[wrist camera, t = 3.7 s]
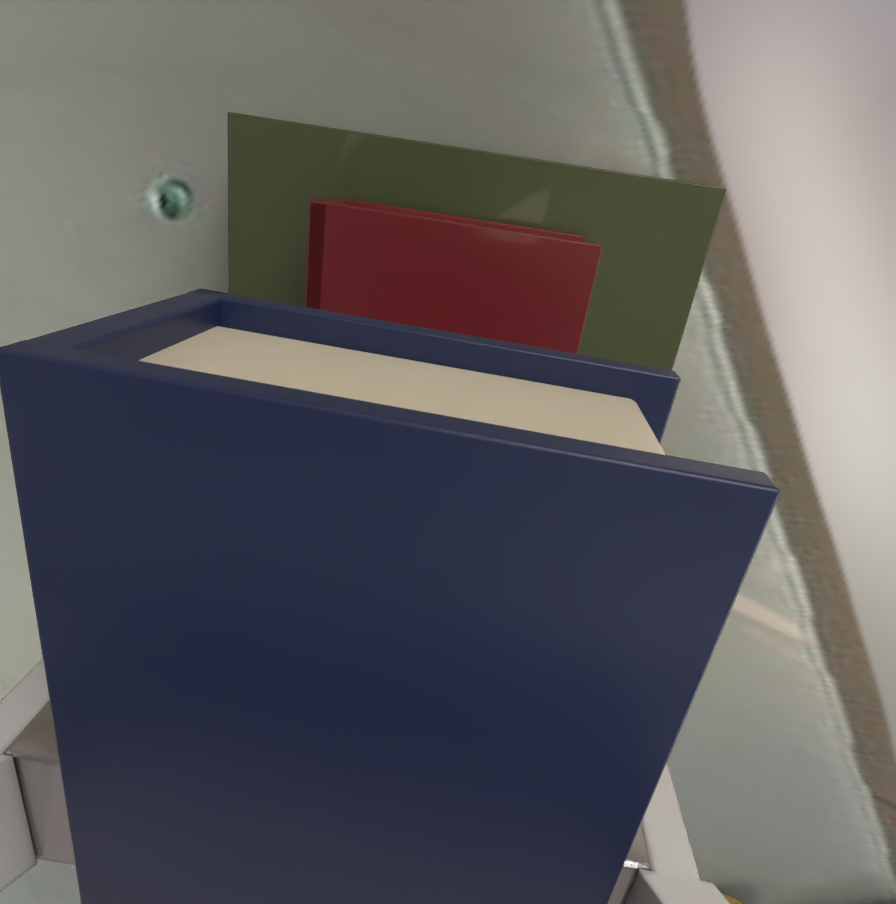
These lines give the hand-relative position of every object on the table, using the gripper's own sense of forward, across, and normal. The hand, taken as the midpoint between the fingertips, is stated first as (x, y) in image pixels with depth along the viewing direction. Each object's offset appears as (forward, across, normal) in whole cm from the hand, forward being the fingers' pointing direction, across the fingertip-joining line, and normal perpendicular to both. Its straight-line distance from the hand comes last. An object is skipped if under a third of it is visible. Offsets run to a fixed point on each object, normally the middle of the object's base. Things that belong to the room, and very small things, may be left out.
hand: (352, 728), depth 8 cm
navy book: (+1, 0, 0) cm, 1 cm away
